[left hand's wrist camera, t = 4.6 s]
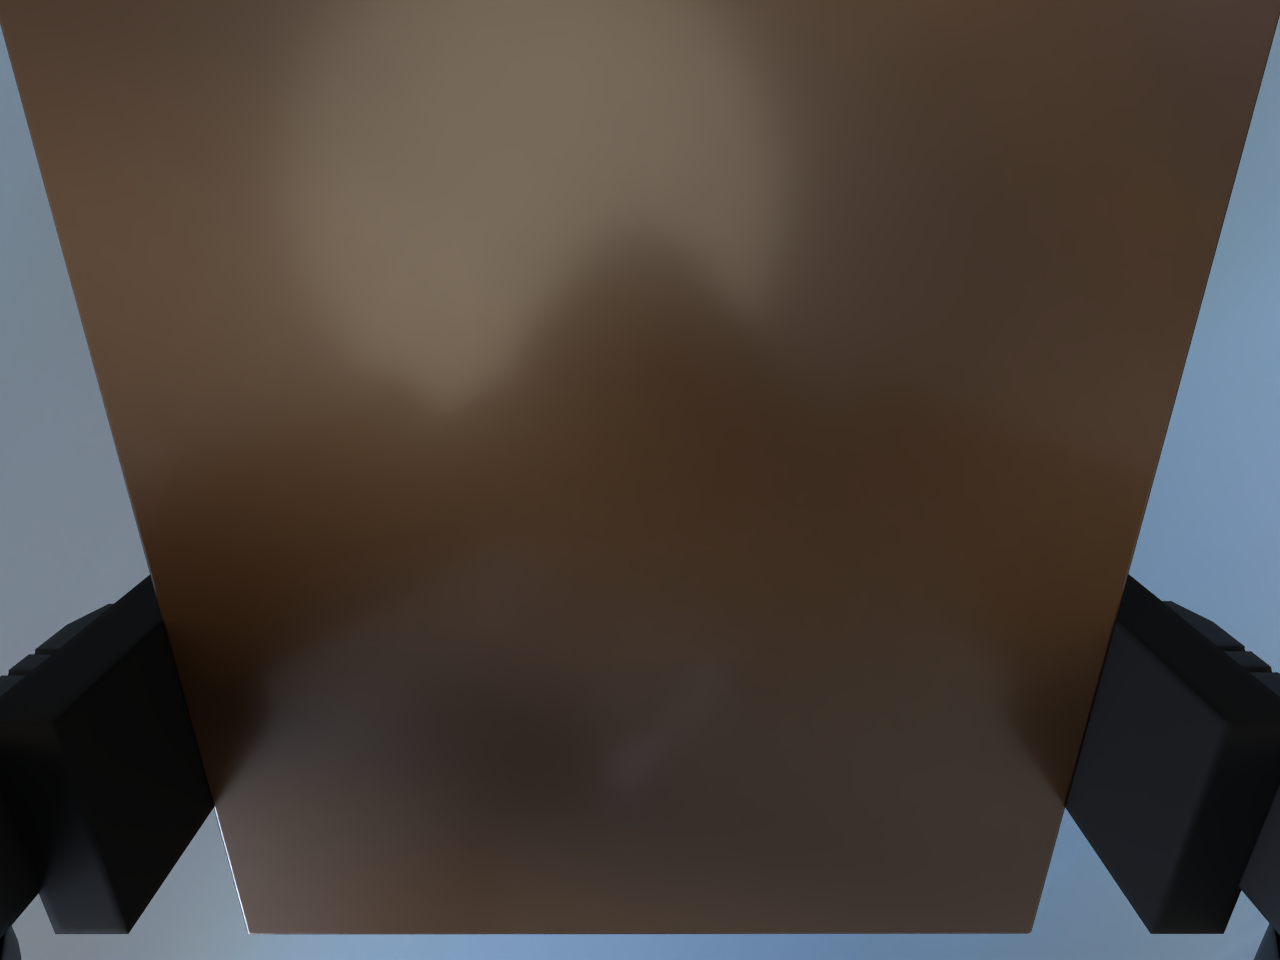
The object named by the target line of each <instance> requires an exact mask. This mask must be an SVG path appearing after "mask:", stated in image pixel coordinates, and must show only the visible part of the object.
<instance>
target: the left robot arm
mask: <svg viewBox="0 0 1280 960" xmlns="http://www.w3.org/2000/svg"><path fill="white" fill-rule="evenodd" d="M1244 648H1245V646H1243V645H1242V644H1241V643H1239V642H1238V641H1237V640H1236V639H1234V638H1233V637H1232V636H1230V635H1229V634H1228V633H1227V632H1225V631H1224V630H1223V629H1221V628H1220V627H1219V626H1218V625H1216V624H1215V623H1214V622H1212V621H1210V620H1208V619H1206V618H1204V617H1202V616H1200V615H1198V614H1196V613H1194V612H1192V611H1190V610H1188V609H1186V608H1184V607H1182V606H1180V605H1178V604H1176V603H1174V602H1172V601H1161V600H1160V599H1158V598H1157V597H1156V596H1155V595H1153V594H1152V593H1151V592H1150V591H1149V590H1147V589H1146V588H1145V587H1144V586H1142V585H1141V584H1140V583H1139V582H1137V581H1136V580H1135V579H1134V578H1133V577H1131V576H1130V575H1129V574H1128V577H1127V580H1126V584H1125V588H1124V591H1123V595H1122V599H1121V602H1120V606H1119V610H1118V613H1117V617H1116V621H1115V625H1114V628H1113V632H1112V636H1111V639H1110V643H1109V647H1108V650H1107V654H1106V658H1105V661H1104V665H1103V669H1102V672H1101V676H1100V680H1099V684H1098V687H1097V691H1096V695H1095V698H1094V702H1093V706H1092V709H1091V713H1090V717H1089V720H1088V724H1087V728H1086V732H1085V735H1084V739H1083V743H1082V746H1081V750H1080V754H1079V757H1078V761H1077V765H1076V768H1075V772H1074V776H1073V780H1072V783H1071V787H1070V791H1069V794H1068V798H1067V802H1066V805H1065V807H1066V809H1067V810H1068V812H1069V813H1070V815H1071V816H1072V818H1073V819H1074V821H1075V822H1076V824H1077V825H1078V827H1079V828H1080V830H1081V831H1082V833H1083V834H1084V836H1085V837H1086V839H1087V840H1088V841H1089V843H1090V844H1091V846H1092V847H1093V849H1094V850H1095V852H1096V853H1097V855H1098V856H1099V858H1100V859H1101V861H1102V862H1103V864H1104V865H1105V867H1106V868H1107V870H1108V871H1109V873H1110V874H1111V876H1112V877H1113V879H1114V880H1115V881H1116V883H1117V884H1118V886H1119V887H1120V889H1121V890H1122V892H1123V893H1124V895H1125V896H1126V898H1127V899H1128V901H1129V902H1130V904H1131V905H1132V907H1133V908H1134V910H1135V911H1136V913H1137V914H1138V916H1139V917H1140V918H1141V920H1142V921H1143V923H1144V924H1145V926H1146V927H1147V929H1148V930H1149V932H1150V933H1151V934H1224V931H1225V929H1226V927H1227V924H1228V922H1229V919H1230V917H1231V914H1232V912H1233V909H1234V907H1235V904H1236V902H1237V900H1238V897H1239V895H1240V892H1241V890H1242V891H1243V892H1244V893H1245V895H1246V896H1247V897H1248V898H1249V899H1250V901H1251V902H1252V903H1253V904H1254V905H1255V906H1256V908H1257V909H1258V910H1259V911H1260V912H1261V914H1262V915H1263V916H1264V917H1265V918H1266V919H1267V921H1268V922H1269V923H1270V924H1269V926H1268V928H1267V930H1266V933H1265V935H1264V937H1263V940H1262V942H1261V944H1260V946H1259V949H1258V951H1257V953H1256V956H1255V958H1254V960H1280V674H1279V673H1272V671H1271V667H1270V666H1269V665H1268V664H1267V663H1265V662H1264V661H1263V660H1261V659H1260V658H1259V657H1257V656H1256V655H1255V654H1254V653H1252V652H1251V651H1245V649H1244ZM213 808H214V807H213V803H212V799H211V796H210V792H209V788H208V785H207V781H206V777H205V774H204V770H203V766H202V762H201V759H200V755H199V751H198V748H197V744H196V740H195V737H194V733H193V729H192V726H191V722H190V718H189V715H188V711H187V707H186V704H185V700H184V696H183V693H182V689H181V685H180V682H179V678H178V674H177V671H176V667H175V663H174V660H173V656H172V652H171V649H170V645H169V641H168V638H167V634H166V630H165V627H164V623H163V619H162V616H161V612H160V608H159V605H158V601H157V597H156V594H155V590H154V586H153V583H152V579H151V575H149V576H148V577H147V578H145V579H144V580H143V581H142V582H140V583H139V584H138V585H137V586H135V587H134V588H133V589H132V590H131V591H129V592H128V593H127V594H126V595H124V596H123V597H122V598H121V599H119V600H118V601H117V602H116V603H115V604H108V605H106V606H104V607H102V608H100V609H98V610H96V611H94V612H92V613H90V614H88V615H86V616H84V617H82V618H80V619H78V620H76V621H74V622H72V623H70V624H68V625H66V626H65V627H63V628H62V629H61V630H60V631H58V632H57V633H56V634H55V635H53V636H52V637H51V638H49V639H48V640H47V641H46V642H44V643H43V644H42V645H40V646H39V647H38V648H37V649H35V654H29V655H28V656H26V657H25V658H24V659H23V660H21V661H20V662H19V663H17V664H16V665H15V666H14V667H12V668H11V669H10V670H9V674H8V676H1V677H0V960H21V954H20V948H19V943H18V940H17V937H16V935H15V933H14V930H13V928H12V926H11V925H12V924H13V923H14V922H15V921H16V919H17V918H18V917H19V916H20V915H21V913H22V912H23V911H24V910H25V909H26V907H27V906H28V905H29V904H30V903H31V902H32V900H33V899H34V898H35V897H36V896H37V894H38V893H39V895H40V897H41V900H42V902H43V905H44V907H45V910H46V912H47V915H48V917H49V919H50V922H51V924H52V927H53V929H54V932H55V934H129V932H130V931H131V929H132V928H133V926H134V925H135V923H136V922H137V920H138V919H139V917H140V916H141V914H142V913H143V911H144V910H145V908H146V907H147V905H148V904H149V902H150V901H151V900H152V898H153V897H154V895H155V894H156V892H157V891H158V889H159V888H160V886H161V885H162V883H163V882H164V880H165V879H166V877H167V876H168V874H169V873H170V871H171V870H172V868H173V867H174V865H175V864H176V862H177V861H178V860H179V858H180V857H181V855H182V854H183V852H184V851H185V849H186V848H187V846H188V845H189V843H190V842H191V840H192V839H193V837H194V836H195V834H196V833H197V831H198V830H199V828H200V827H201V825H202V824H203V823H204V821H205V820H206V818H207V817H208V815H209V814H210V812H211V811H212V809H213Z"/></svg>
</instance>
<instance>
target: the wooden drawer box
mask: <svg viewBox="0 0 1280 960" xmlns="http://www.w3.org/2000/svg"><path fill="white" fill-rule="evenodd" d="M1279 15H1280V0H0V24H1V28H2V32H3V35H4V39H5V43H6V46H7V50H8V54H9V57H10V61H11V65H12V68H13V72H14V76H15V79H16V83H17V87H18V90H19V94H20V98H21V101H22V105H23V109H24V112H25V116H26V120H27V123H28V127H29V131H30V134H31V138H32V142H33V145H34V149H35V153H36V156H37V160H38V164H39V167H40V171H41V175H42V179H43V182H44V186H45V190H46V193H47V197H48V201H49V204H50V208H51V212H52V215H53V219H54V223H55V226H56V230H57V234H58V237H59V241H60V245H61V248H62V252H63V256H64V259H65V263H66V267H67V270H68V274H69V278H70V281H71V285H72V289H73V292H74V296H75V300H76V303H77V307H78V311H79V314H80V318H81V322H82V325H83V329H84V333H85V336H86V340H87V344H88V347H89V351H90V355H91V358H92V362H93V366H94V370H95V373H96V377H97V381H98V384H99V388H100V392H101V395H102V399H103V403H104V406H105V410H106V414H107V417H108V421H109V425H110V428H111V432H112V436H113V439H114V443H115V447H116V450H117V454H118V458H119V461H120V465H121V469H122V472H123V476H124V480H125V483H126V487H127V491H128V494H129V498H130V502H131V505H132V509H133V513H134V516H135V520H136V524H137V527H138V531H139V535H140V538H141V542H142V546H143V549H144V553H145V557H146V560H147V564H148V568H149V572H150V575H151V579H152V583H153V586H154V590H155V594H156V597H157V601H158V605H159V608H160V612H161V616H162V619H163V623H164V627H165V630H166V634H167V638H168V641H169V645H170V649H171V652H172V656H173V660H174V663H175V667H176V671H177V674H178V678H179V682H180V685H181V689H182V693H183V696H184V700H185V704H186V707H187V711H188V715H189V718H190V722H191V726H192V729H193V733H194V737H195V740H196V744H197V748H198V751H199V755H200V759H201V762H202V766H203V770H204V774H205V777H206V781H207V785H208V788H209V792H210V796H211V799H212V803H213V807H214V810H215V814H216V818H217V821H218V825H219V829H220V832H221V836H222V840H223V843H224V847H225V851H226V854H227V858H228V862H229V865H230V869H231V873H232V876H233V880H234V884H235V887H236V891H237V895H238V898H239V902H240V906H241V909H242V913H243V917H244V920H245V924H246V928H247V931H248V933H249V934H1028V933H1030V932H1031V931H1032V927H1033V923H1034V920H1035V916H1036V912H1037V909H1038V905H1039V901H1040V898H1041V894H1042V890H1043V887H1044V883H1045V879H1046V876H1047V872H1048V868H1049V864H1050V861H1051V857H1052V853H1053V850H1054V846H1055V842H1056V839H1057V835H1058V831H1059V828H1060V824H1061V820H1062V816H1063V813H1064V809H1065V805H1066V802H1067V798H1068V794H1069V791H1070V787H1071V783H1072V780H1073V776H1074V772H1075V768H1076V765H1077V761H1078V757H1079V754H1080V750H1081V746H1082V743H1083V739H1084V735H1085V732H1086V728H1087V724H1088V720H1089V717H1090V713H1091V709H1092V706H1093V702H1094V698H1095V695H1096V691H1097V687H1098V684H1099V680H1100V676H1101V672H1102V669H1103V665H1104V661H1105V658H1106V654H1107V650H1108V647H1109V643H1110V639H1111V636H1112V632H1113V628H1114V625H1115V621H1116V617H1117V613H1118V610H1119V606H1120V602H1121V599H1122V595H1123V591H1124V588H1125V584H1126V580H1127V577H1128V573H1129V569H1130V565H1131V562H1132V558H1133V554H1134V551H1135V547H1136V543H1137V540H1138V536H1139V532H1140V529H1141V525H1142V521H1143V517H1144V514H1145V510H1146V506H1147V503H1148V499H1149V495H1150V492H1151V488H1152V484H1153V481H1154V477H1155V473H1156V469H1157V466H1158V462H1159V458H1160V455H1161V451H1162V447H1163V444H1164V440H1165V436H1166V433H1167V429H1168V425H1169V421H1170V418H1171V414H1172V410H1173V407H1174V403H1175V399H1176V396H1177V392H1178V388H1179V385H1180V381H1181V377H1182V374H1183V370H1184V366H1185V362H1186V359H1187V355H1188V351H1189V348H1190V344H1191V340H1192V337H1193V333H1194V329H1195V326H1196V322H1197V318H1198V314H1199V311H1200V307H1201V303H1202V300H1203V296H1204V292H1205V289H1206V285H1207V281H1208V278H1209V274H1210V270H1211V266H1212V263H1213V259H1214V255H1215V252H1216V248H1217V244H1218V241H1219V237H1220V233H1221V230H1222V226H1223V222H1224V218H1225V215H1226V211H1227V207H1228V204H1229V200H1230V196H1231V193H1232V189H1233V185H1234V182H1235V178H1236V174H1237V170H1238V167H1239V163H1240V159H1241V156H1242V152H1243V148H1244V145H1245V141H1246V137H1247V134H1248V130H1249V126H1250V123H1251V119H1252V115H1253V111H1254V108H1255V104H1256V100H1257V97H1258V93H1259V89H1260V86H1261V82H1262V78H1263V75H1264V71H1265V67H1266V63H1267V60H1268V56H1269V52H1270V49H1271V45H1272V41H1273V38H1274V34H1275V30H1276V27H1277V23H1278V19H1279Z"/></svg>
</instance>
